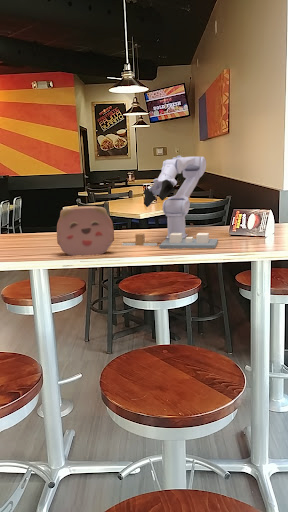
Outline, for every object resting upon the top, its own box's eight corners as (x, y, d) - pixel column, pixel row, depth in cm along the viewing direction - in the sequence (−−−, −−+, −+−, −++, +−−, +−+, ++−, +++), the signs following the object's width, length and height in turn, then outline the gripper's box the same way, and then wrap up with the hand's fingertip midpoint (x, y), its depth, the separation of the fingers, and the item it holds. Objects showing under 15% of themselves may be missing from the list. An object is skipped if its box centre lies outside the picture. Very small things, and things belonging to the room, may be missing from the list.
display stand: (166, 241, 174) (166, 231, 173) (217, 241, 169) (217, 231, 168) (159, 248, 161) (159, 236, 160) (214, 248, 156) (214, 237, 155)
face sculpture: (57, 257, 152) (53, 208, 149) (59, 253, 159) (55, 207, 156) (115, 254, 153) (112, 206, 150) (114, 250, 160) (112, 204, 157)
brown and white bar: (124, 244, 173) (123, 233, 172) (158, 244, 169) (158, 233, 169) (121, 245, 170) (121, 234, 169) (157, 245, 166) (156, 234, 166)
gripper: (145, 178, 174) (132, 200, 165) (173, 165, 164) (161, 186, 155) (156, 192, 177) (144, 213, 168) (184, 179, 167) (172, 201, 158)
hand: (153, 201), depth 162 cm, fingers open, 7 cm apart
